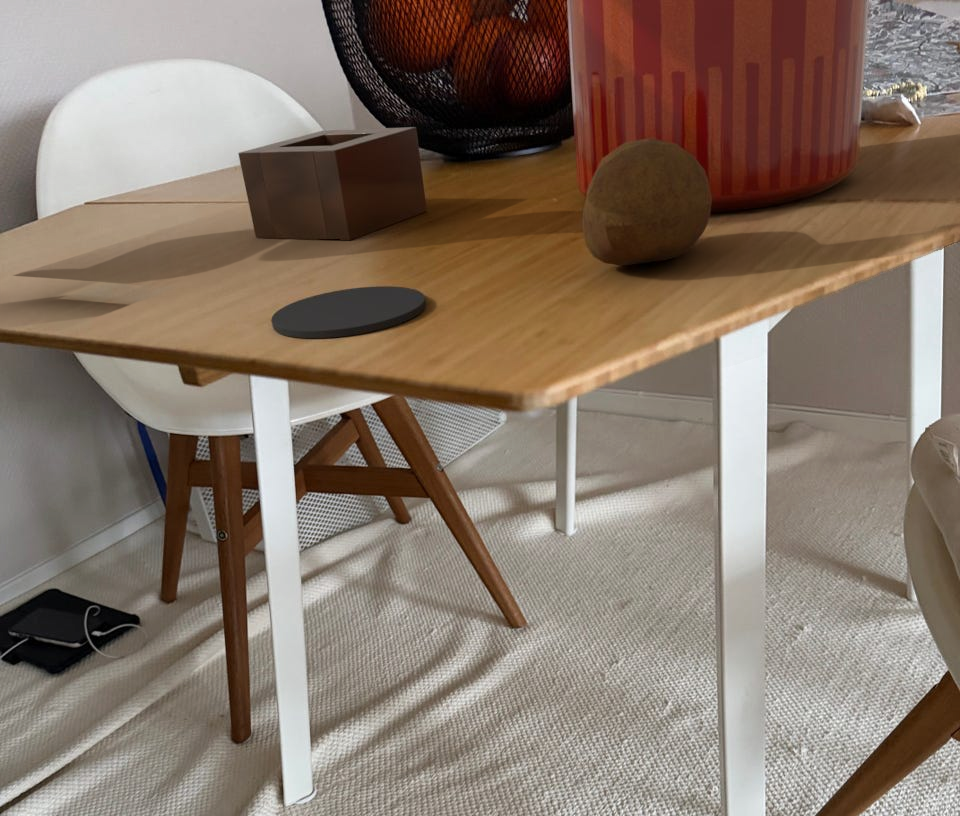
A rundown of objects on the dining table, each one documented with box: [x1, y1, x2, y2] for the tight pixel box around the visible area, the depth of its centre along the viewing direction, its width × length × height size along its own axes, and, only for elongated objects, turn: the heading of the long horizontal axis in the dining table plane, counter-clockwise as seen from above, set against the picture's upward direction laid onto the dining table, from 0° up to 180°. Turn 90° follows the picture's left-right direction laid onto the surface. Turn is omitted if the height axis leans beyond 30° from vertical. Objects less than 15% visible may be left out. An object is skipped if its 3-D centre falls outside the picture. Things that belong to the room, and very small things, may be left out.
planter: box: [566, 0, 870, 214], centre depth 87 cm, size 23×23×20 cm
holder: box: [237, 126, 428, 241], centre depth 96 cm, size 11×11×7 cm
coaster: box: [270, 285, 427, 339], centre depth 70 cm, size 10×10×1 cm
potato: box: [582, 138, 712, 266], centre depth 71 cm, size 8×12×8 cm, turn 158°
